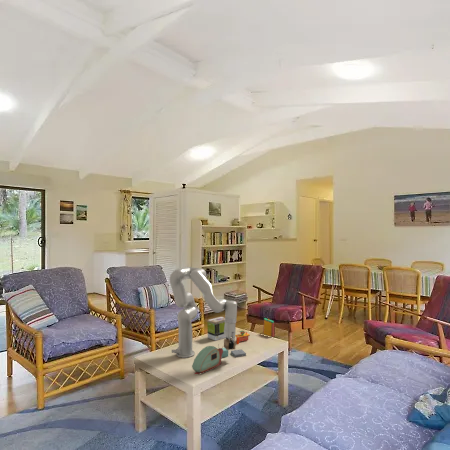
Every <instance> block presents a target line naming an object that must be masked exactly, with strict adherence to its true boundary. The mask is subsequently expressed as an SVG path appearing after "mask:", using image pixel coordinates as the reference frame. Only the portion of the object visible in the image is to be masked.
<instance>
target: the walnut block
mask: <svg viewBox="0 0 450 450" xmlns="http://www.w3.org/2000/svg"><path fill="white" fill-rule="evenodd" d="M231 340H232V339H231ZM229 343H230V341H229V339H226V338H223V348H225V349H226V350H228V351H229V350H230V351H232V350H236V347H237V346H236V345H237V341H236V340H234V348H233V349H229Z"/></svg>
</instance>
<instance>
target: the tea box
mask: <svg viewBox="0 0 450 450" xmlns="http://www.w3.org/2000/svg"><path fill="white" fill-rule="evenodd" d="M206 322H207V323H206V324H207V338H208V339H210V340H213V341H218V340H223V339H226V336H225V335H224V326H225V316H217V317H214V318H210V319H207V321H206Z"/></svg>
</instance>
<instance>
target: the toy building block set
mask: <svg viewBox="0 0 450 450" xmlns="http://www.w3.org/2000/svg"><path fill="white" fill-rule="evenodd" d="M262 329H263V331H262V333H263V334H264V335H267V336H268V337H272V338H273V337H275V321H274V320H272V319H270V318H266V317H263V327H262ZM238 332H239V333H240V334H239V333H238V334H235V342H236V345H239V343H240V342H244V341H249V337H250V336H251V334H250V333H248V332H247V331H245V330H239V331H238Z"/></svg>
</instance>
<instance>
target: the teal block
mask: <svg viewBox="0 0 450 450" xmlns="http://www.w3.org/2000/svg"><path fill="white" fill-rule="evenodd" d="M221 348H222V349H223V353H222V356H221V358H226V357H229V350H226V349H225V347H221Z"/></svg>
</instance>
